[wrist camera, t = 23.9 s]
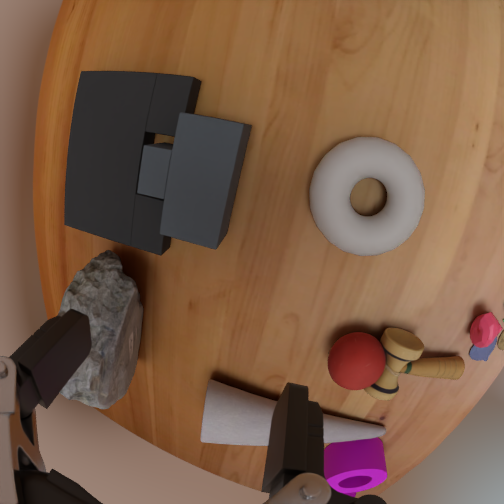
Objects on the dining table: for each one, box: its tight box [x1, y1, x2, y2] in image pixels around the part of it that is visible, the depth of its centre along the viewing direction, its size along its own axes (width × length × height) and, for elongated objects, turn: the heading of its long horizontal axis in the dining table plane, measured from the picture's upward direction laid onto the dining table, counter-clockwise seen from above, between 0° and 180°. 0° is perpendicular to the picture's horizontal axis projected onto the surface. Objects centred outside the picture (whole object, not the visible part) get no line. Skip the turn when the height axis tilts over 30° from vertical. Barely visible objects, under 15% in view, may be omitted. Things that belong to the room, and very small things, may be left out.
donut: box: [309, 137, 425, 256], centre depth 23 cm, size 10×4×10 cm
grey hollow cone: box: [201, 379, 386, 446], centre depth 33 cm, size 8×9×26 cm
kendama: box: [328, 328, 465, 400], centre depth 28 cm, size 8×6×18 cm
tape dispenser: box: [324, 437, 387, 497], centre depth 37 cm, size 16×10×6 cm, turn 172°
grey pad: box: [137, 112, 252, 249], centre depth 24 cm, size 10×8×4 cm
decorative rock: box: [57, 250, 143, 409], centre depth 26 cm, size 16×7×15 cm, turn 162°
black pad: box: [65, 71, 201, 255], centre depth 25 cm, size 16×12×2 cm
